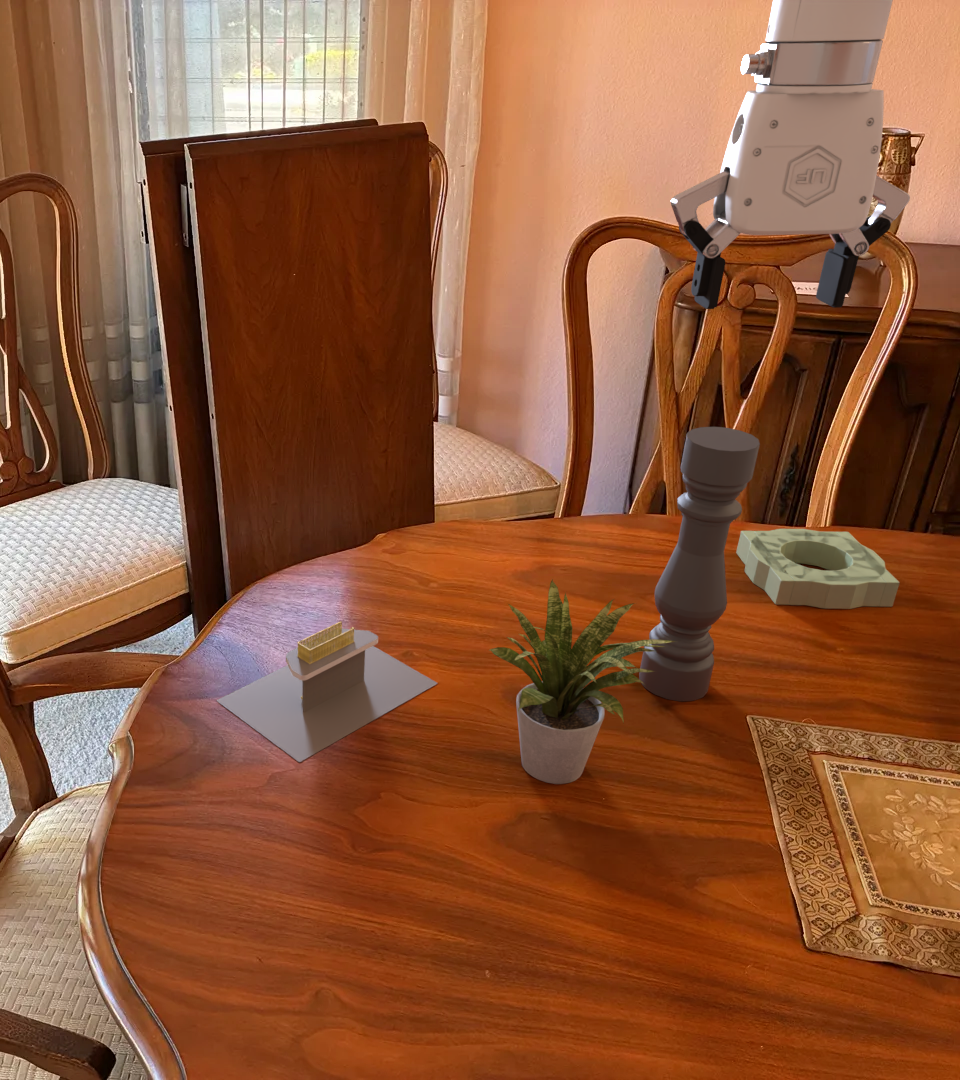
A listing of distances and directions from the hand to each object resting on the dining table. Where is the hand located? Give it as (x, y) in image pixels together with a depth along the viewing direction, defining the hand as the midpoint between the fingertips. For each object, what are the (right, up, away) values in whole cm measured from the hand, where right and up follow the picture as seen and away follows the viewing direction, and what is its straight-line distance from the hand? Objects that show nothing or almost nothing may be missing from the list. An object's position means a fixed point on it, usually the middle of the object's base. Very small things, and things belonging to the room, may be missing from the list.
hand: (766, 304), depth 80 cm
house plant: (-16, -39, +4) cm, 42 cm away
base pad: (+22, -23, +32) cm, 45 cm away
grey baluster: (-1, -33, +16) cm, 36 cm away
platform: (-34, -34, +16) cm, 50 cm away
